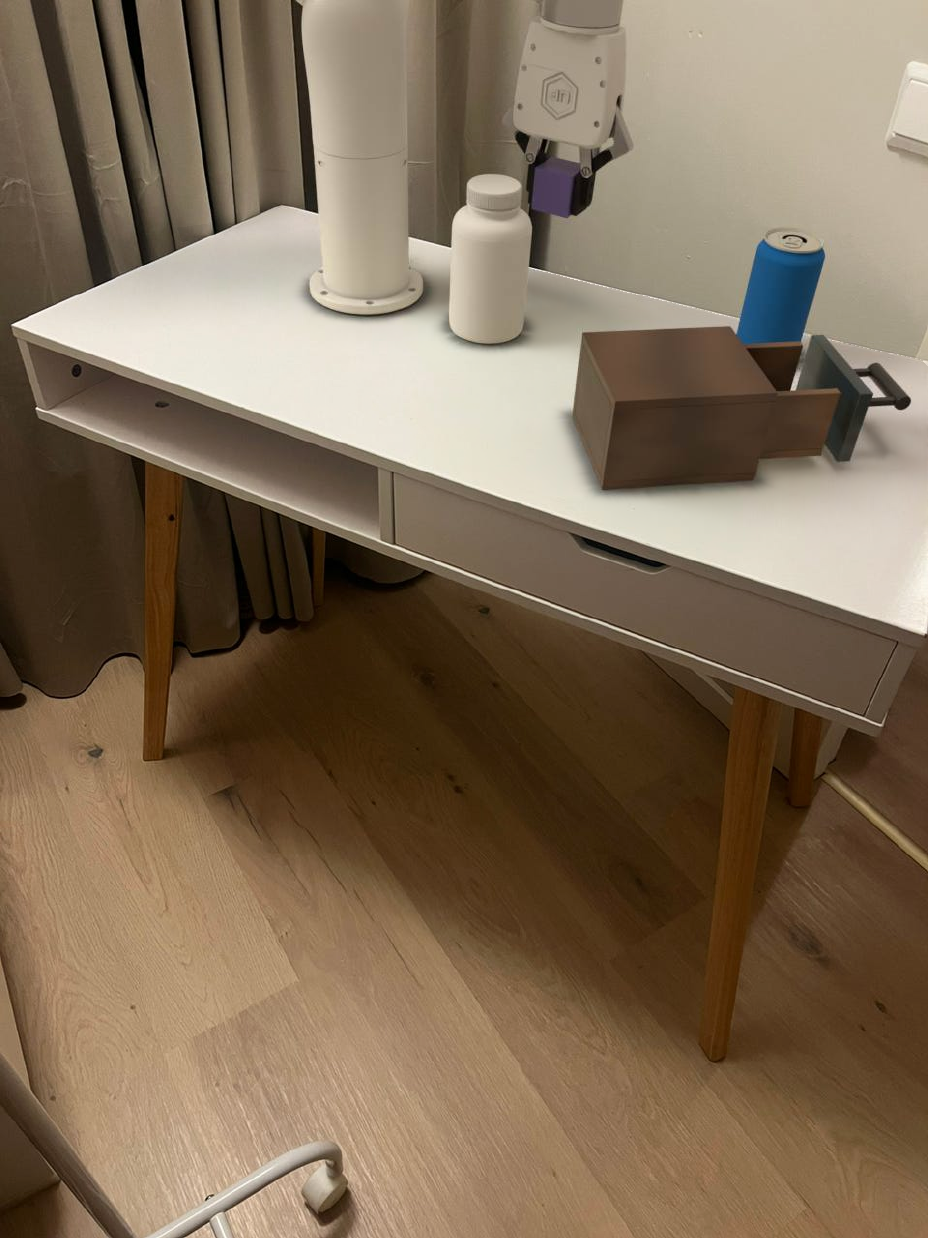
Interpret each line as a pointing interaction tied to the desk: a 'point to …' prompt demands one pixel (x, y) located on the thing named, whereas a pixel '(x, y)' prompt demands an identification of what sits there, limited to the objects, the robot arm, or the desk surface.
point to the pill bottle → (490, 261)
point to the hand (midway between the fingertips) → (557, 204)
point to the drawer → (819, 399)
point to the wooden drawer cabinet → (671, 406)
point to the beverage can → (781, 286)
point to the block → (554, 186)
